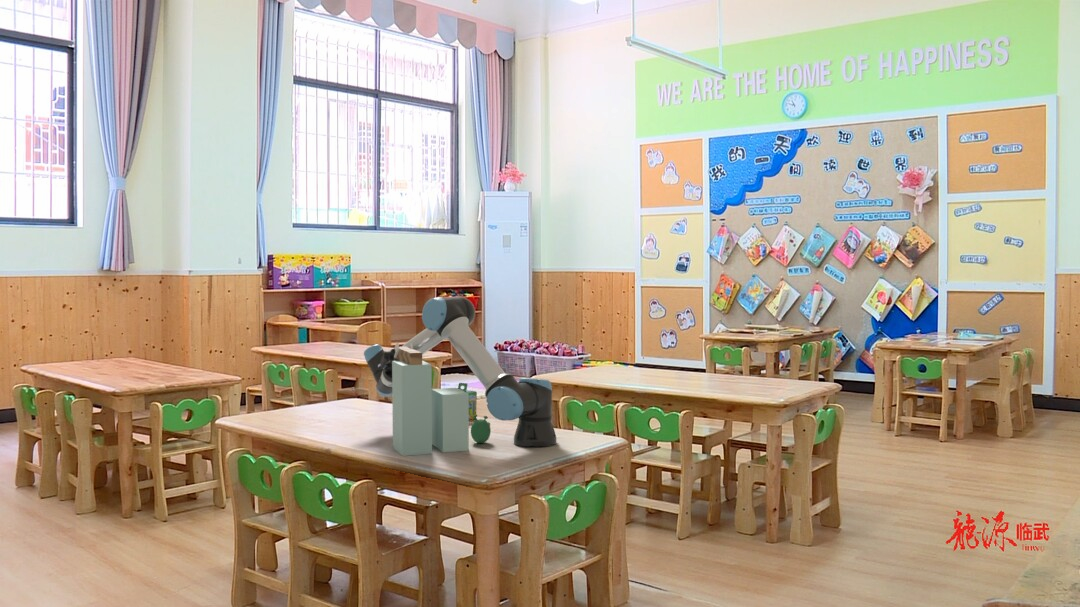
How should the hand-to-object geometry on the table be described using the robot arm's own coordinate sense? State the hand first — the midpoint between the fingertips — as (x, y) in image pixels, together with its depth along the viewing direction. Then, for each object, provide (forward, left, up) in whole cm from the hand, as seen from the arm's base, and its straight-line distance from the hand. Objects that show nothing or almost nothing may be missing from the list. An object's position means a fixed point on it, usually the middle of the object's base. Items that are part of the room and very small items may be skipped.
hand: (404, 346), depth 310 cm
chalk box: (+33, -43, -35) cm, 65 cm away
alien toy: (-13, -23, -35) cm, 44 cm away
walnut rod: (-5, +1, -5) cm, 7 cm away
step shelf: (-11, -4, -35) cm, 37 cm away
